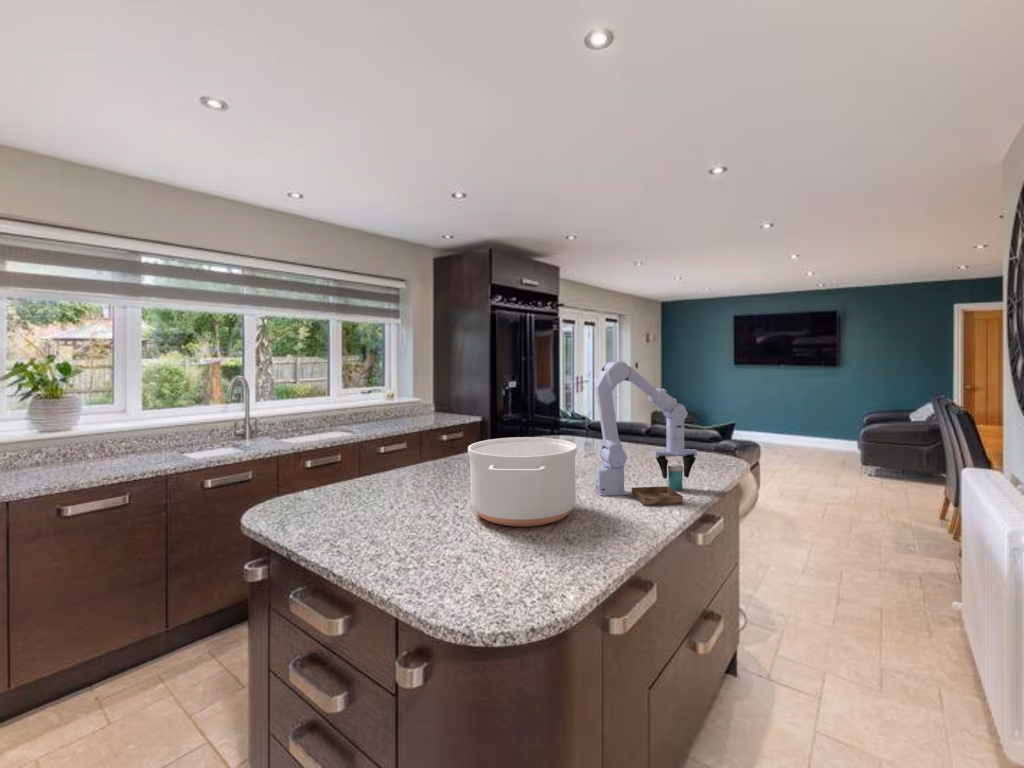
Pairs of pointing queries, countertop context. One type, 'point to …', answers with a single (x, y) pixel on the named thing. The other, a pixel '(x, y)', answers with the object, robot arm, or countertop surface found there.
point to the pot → (522, 480)
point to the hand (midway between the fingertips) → (675, 477)
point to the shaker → (675, 477)
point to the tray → (657, 496)
